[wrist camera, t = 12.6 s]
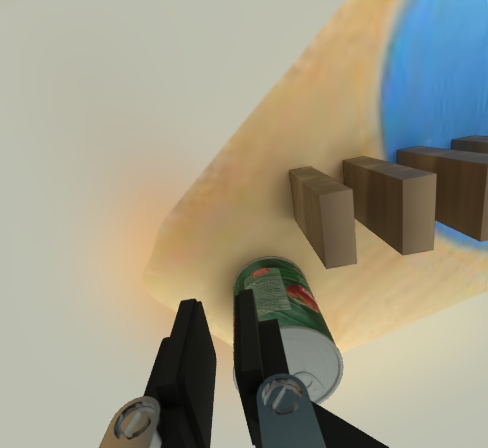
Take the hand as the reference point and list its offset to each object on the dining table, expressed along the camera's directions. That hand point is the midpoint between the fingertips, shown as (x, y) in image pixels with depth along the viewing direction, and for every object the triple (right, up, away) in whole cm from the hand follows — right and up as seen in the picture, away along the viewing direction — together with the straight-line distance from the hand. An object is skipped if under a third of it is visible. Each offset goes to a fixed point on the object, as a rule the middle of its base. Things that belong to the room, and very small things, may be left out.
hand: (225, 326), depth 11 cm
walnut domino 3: (+16, +9, +16) cm, 24 cm away
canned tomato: (+4, -3, +19) cm, 20 cm away
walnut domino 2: (+11, +8, +16) cm, 21 cm away
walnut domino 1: (+6, +7, +16) cm, 18 cm away
